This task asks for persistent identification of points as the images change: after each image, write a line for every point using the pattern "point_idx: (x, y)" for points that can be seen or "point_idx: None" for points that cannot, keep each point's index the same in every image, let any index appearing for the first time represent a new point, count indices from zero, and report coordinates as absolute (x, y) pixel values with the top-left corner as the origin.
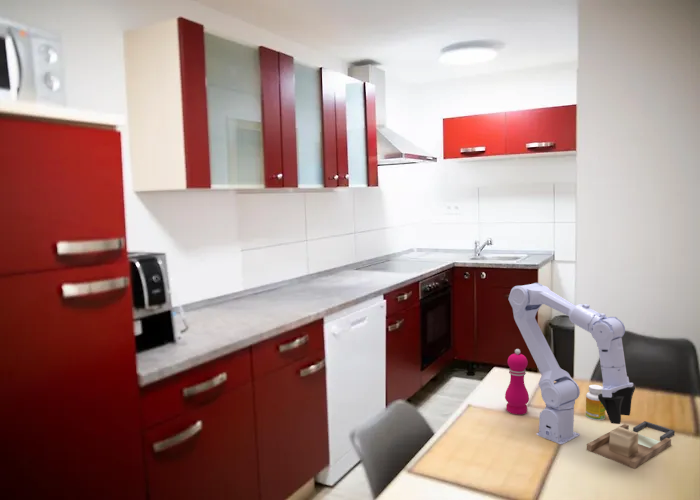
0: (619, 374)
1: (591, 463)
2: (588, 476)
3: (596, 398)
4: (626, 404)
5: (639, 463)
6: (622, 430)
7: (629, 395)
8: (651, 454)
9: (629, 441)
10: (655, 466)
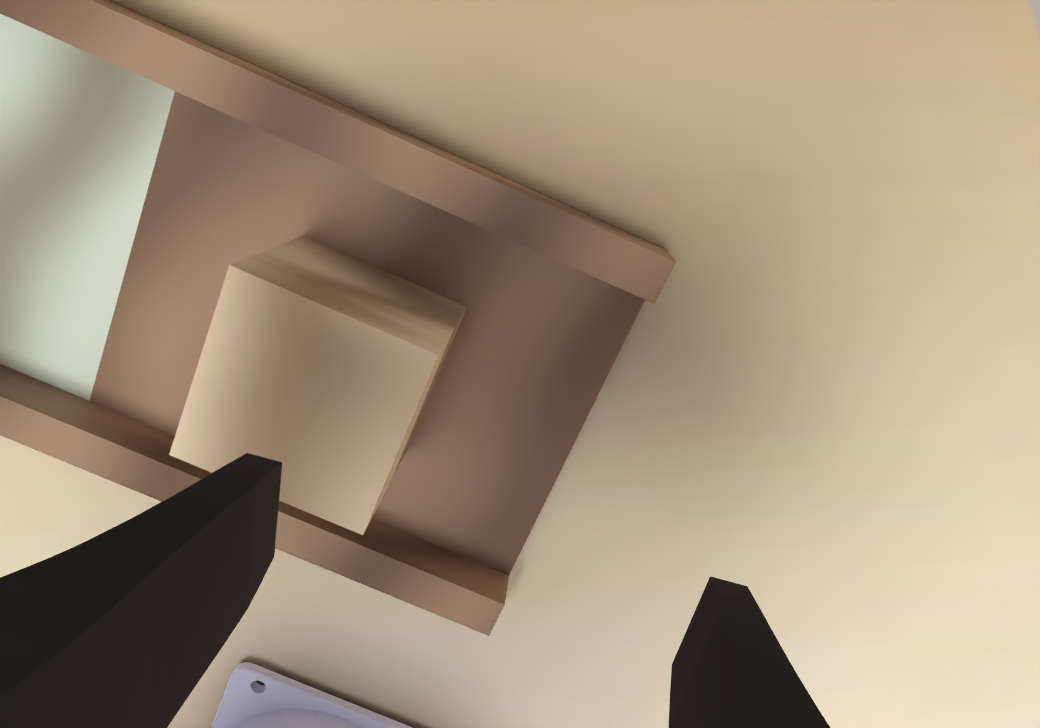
0: None
1: (691, 553)
2: (923, 559)
3: None
4: (181, 596)
5: (583, 216)
6: (253, 423)
7: (43, 688)
8: (359, 118)
9: (432, 339)
10: (503, 81)
